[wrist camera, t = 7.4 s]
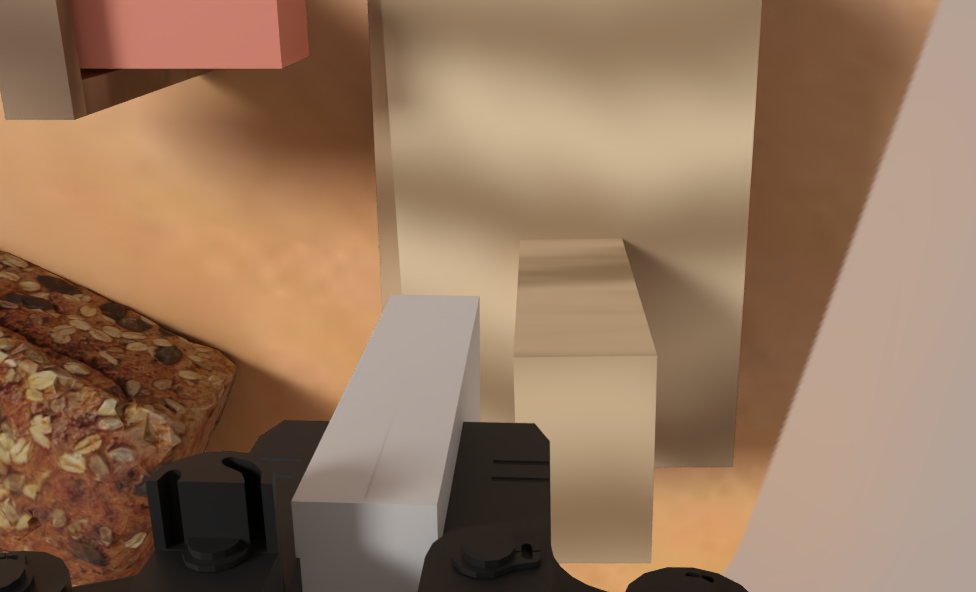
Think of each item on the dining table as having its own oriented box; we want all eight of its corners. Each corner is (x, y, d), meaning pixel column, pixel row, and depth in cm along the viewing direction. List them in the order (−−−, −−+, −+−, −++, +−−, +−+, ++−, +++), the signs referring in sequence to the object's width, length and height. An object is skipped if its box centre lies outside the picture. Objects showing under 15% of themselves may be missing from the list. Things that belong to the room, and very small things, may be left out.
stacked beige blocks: (378, -98, 30) (294, -127, 19) (761, -114, 29) (886, -151, 19) (417, 455, 36) (370, 652, 26) (727, 453, 36) (805, 655, 25)
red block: (-192, -34, 30) (-281, -33, 27) (303, -37, 29) (273, -36, 26) (-170, 56, 31) (-254, 68, 28) (309, 56, 30) (282, 68, 27)
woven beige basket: (163, -93, 38) (-38, -119, 24) (702, -97, 37) (795, -126, 23) (215, 361, 44) (80, 532, 31) (670, 368, 43) (728, 548, 30)
